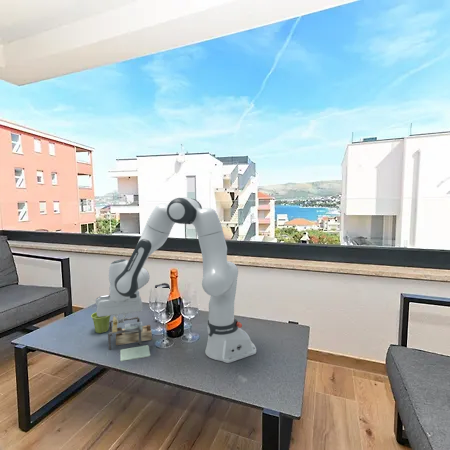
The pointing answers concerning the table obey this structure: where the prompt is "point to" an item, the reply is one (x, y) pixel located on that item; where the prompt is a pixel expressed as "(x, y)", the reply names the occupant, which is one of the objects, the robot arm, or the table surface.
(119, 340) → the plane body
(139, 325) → the grey block with handle
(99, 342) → the table surface
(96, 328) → the plant pot
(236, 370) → the table surface
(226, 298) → the robot arm
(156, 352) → the table surface
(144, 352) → the sage mat
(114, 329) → the brass bolt
